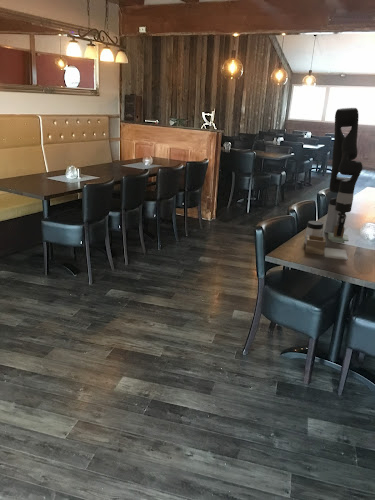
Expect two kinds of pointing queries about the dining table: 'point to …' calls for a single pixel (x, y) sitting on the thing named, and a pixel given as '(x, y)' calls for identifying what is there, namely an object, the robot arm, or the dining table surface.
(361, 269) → the dining table surface
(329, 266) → the dining table surface
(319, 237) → the box
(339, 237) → the lid
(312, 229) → the jar
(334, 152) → the robot arm
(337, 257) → the mat
